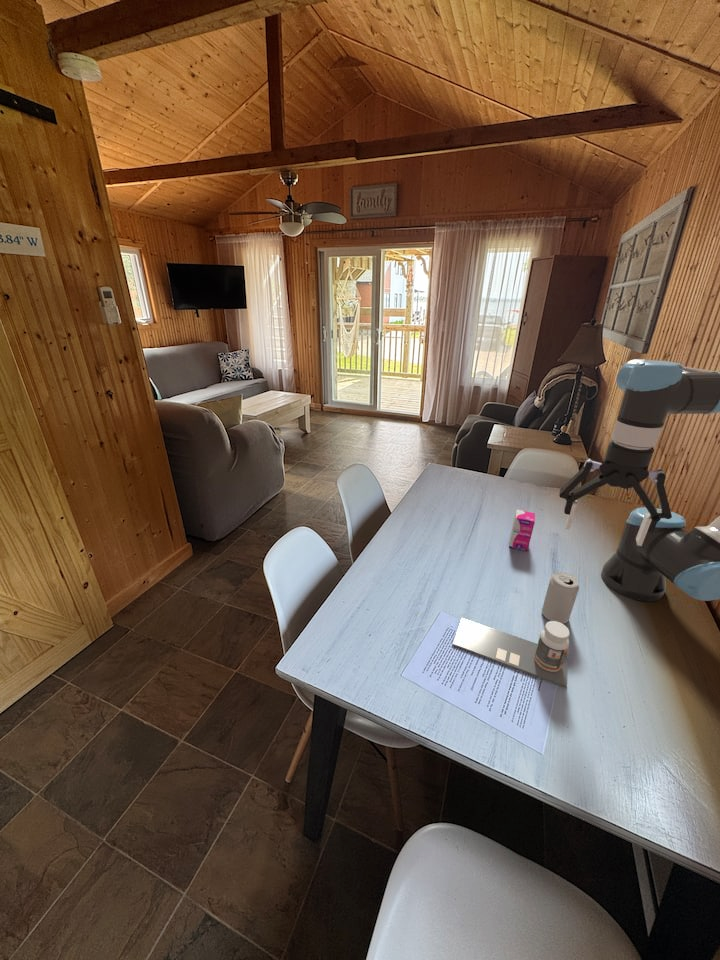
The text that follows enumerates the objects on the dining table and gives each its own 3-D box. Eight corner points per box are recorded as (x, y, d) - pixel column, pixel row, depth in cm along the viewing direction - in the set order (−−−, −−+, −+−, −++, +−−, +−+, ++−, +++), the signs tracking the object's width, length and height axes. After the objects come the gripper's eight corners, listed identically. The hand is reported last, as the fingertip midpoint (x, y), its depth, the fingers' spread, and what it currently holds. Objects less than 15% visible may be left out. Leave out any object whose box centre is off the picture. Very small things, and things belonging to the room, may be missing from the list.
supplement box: (508, 547, 126) (515, 517, 121) (509, 538, 131) (515, 508, 126) (527, 551, 124) (535, 521, 119) (528, 542, 129) (535, 512, 124)
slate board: (566, 655, 89) (567, 653, 88) (566, 688, 81) (566, 685, 81) (461, 619, 98) (461, 617, 98) (452, 645, 91) (452, 643, 91)
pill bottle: (564, 675, 84) (576, 642, 79) (536, 670, 85) (546, 637, 80) (558, 653, 89) (568, 621, 84) (531, 649, 90) (540, 617, 85)
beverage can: (557, 629, 96) (568, 591, 91) (535, 612, 101) (545, 575, 96) (574, 620, 98) (586, 583, 93) (552, 604, 104) (563, 567, 98)
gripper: (706, 447, 74) (667, 540, 84) (562, 428, 84) (541, 513, 94) (718, 461, 68) (674, 559, 78) (561, 438, 78) (539, 528, 88)
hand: (601, 534), depth 86 cm, fingers open, 13 cm apart
